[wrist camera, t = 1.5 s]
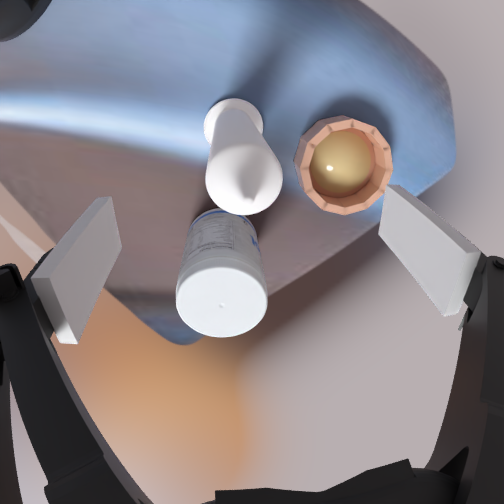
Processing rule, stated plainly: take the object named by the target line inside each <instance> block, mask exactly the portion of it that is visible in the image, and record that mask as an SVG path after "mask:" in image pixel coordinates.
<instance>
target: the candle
mask: <svg viewBox="0 0 504 504" xmlns="http://www.w3.org/2000/svg"><path fill="white" fill-rule="evenodd" d="M262 133H263V121H262V117H261V115H260V113H259V111H258V110H257V109H256V108H255V107H254V106H253V105H252V104H251V103H249V102H247V101H245V100H242V99H237V98H231V99H226V100H223V101H220V102H218V103H217V104H215V105H214V106H213V107H212V108H211V109H210V110H209V112H208V113H207V115H206V118H205V121H204V134H205V137H206V139H207V141H208V143H209V144H210V145H211V147H210V153H209V159H208V164H207V170H206V187H207V191H208V193H209V195H210V197H211V198H212V200H213V201H214V202H215V203H216V204H217V205H218V206H219V207H220V208H221V209H223V210H225V211H227V212H229V213H232V214H236V215H251V214H255V213H258V212H260V211H262V210H264V209H266V208H267V207H269V206H270V205H271V204H272V203H273V202H274V201H275V199H276V198H277V196H278V195H279V193H280V190H281V187H282V182H283V173H282V168H281V165H280V163H279V161H278V159H277V158H276V156H275V154H274V153H273V151H272V150H271V148H270V147H269V145H268V144H267V142H266V141H265V139H264V138H263V136H262Z"/></svg>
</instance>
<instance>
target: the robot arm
mask: <svg viewBox="0 0 504 504" xmlns="http://www.w3.org/2000/svg"><path fill="white" fill-rule="evenodd" d="M50 1H51V0H0V42H4V41H8V40H11V39H13V38H15V37H17V36H19V35H21V34H22V33H24V32H25V31H26V30H27V29H29V28H30V27H31V26H32V25H33V24H34V23H35V22H36V21H37V20H38V19H39V17H40V16H41V15H42V14H43V12H44V11H45V9H46V8H47V6H48V5H49V3H50ZM379 236H380V237H381V238H382V239H383V240H384V242H385V243H386V244H387V245H388V246H389V247H390V249H391V250H392V251H393V252H394V253H395V255H396V256H397V257H398V258H399V259H400V261H401V262H402V263H403V265H404V266H405V267H406V268H407V269H408V271H409V272H410V273H411V275H412V276H413V277H414V278H415V280H417V282H418V284H419V285H420V286H421V287H422V289H423V290H424V291H425V293H426V294H427V295H428V297H429V298H430V299H431V301H432V302H433V303H434V305H435V306H436V307H437V309H438V310H439V311H440V313H441V314H442V316H443V317H445V316H449V315H454V314H458V312H459V310H460V307H461V305H462V303H463V301H464V302H465V303H466V304H467V306H468V308H467V311H466V313H465V315H464V317H463V320H462V322H461V324H460V326H459V328H458V330H461V328H462V327H463V331H462V338H461V344H460V350H459V356H458V361H457V366H456V371H455V375H454V380H453V385H452V389H451V393H450V397H449V401H448V405H447V409H446V412H445V416H444V420H443V423H442V426H441V430H440V433H439V436H438V439H437V442H436V445H435V448H434V451H433V454H432V456H431V458H430V460H429V462H428V463H427V465H426V466H425V468H412V467H411V465H410V462H409V459H405V460H402V461H398V462H395V463H392V464H388V465H385V466H382V467H378V468H375V469H370V470H367V471H365V472H363V473H361V474H359V475H357V476H355V477H353V478H351V479H349V480H347V481H345V482H343V483H340V484H338V485H336V486H334V487H332V488H330V489H327V490H325V491H322V492H305V491H291V490H281V489H271V488H259V489H243V490H221V491H220V490H219V491H218V490H217V491H215V500H213V501H209V502H205V503H202V504H504V259H503V258H501V257H497V256H489V257H486V256H485V255H484V254H483V253H482V252H481V251H480V250H479V249H478V248H476V246H474V245H473V244H472V243H471V242H470V241H469V240H468V239H466V238H465V237H464V236H463V235H462V234H461V233H459V232H458V231H457V230H456V229H455V228H453V227H452V226H451V225H450V224H449V223H447V222H446V221H445V220H444V219H442V218H441V217H440V216H439V215H438V214H436V213H435V212H434V211H433V210H431V209H430V208H429V207H428V206H426V205H425V204H424V203H422V202H421V201H420V200H419V199H417V198H416V197H415V196H413V195H412V194H411V193H409V192H408V191H407V190H405V189H404V188H403V187H401V186H400V185H386V189H385V196H384V203H383V209H382V216H381V222H380V228H379ZM121 249H122V245H121V241H120V237H119V232H118V227H117V223H116V218H115V213H114V208H113V202H112V197H111V196H109V197H100V198H96V199H95V201H94V202H93V203H92V204H91V205H90V206H89V207H88V208H87V209H86V211H85V212H84V213H83V214H82V215H81V216H80V217H79V218H78V220H77V221H76V222H75V223H74V224H73V225H72V227H71V228H70V229H69V230H68V231H67V232H66V234H65V235H64V236H63V237H62V238H61V240H60V241H59V242H58V243H57V245H56V246H55V247H54V248H52V249H51V250H49V251H48V252H47V253H45V254H44V255H43V256H42V257H41V259H40V260H39V261H38V263H37V264H36V265H35V266H34V268H33V269H32V270H31V271H30V273H29V274H28V275H27V277H26V278H25V279H24V281H23V280H22V277H21V275H20V272H19V270H18V267H17V266H16V265H15V264H12V263H10V264H5V265H2V266H0V504H23V502H22V498H21V493H20V488H19V483H18V477H17V471H16V464H15V457H14V448H13V440H12V429H11V414H10V382H11V385H12V388H13V392H14V395H15V399H16V402H17V404H18V408H19V411H20V414H21V417H22V420H23V422H24V425H25V428H26V430H27V433H28V436H29V438H30V441H31V443H32V446H33V448H34V451H35V453H36V455H37V458H38V460H39V462H40V465H41V467H42V469H43V471H44V473H45V475H46V478H47V480H48V485H47V486H45V487H44V491H45V495H46V498H47V500H48V503H49V504H153V503H152V501H151V500H150V499H149V498H148V497H147V496H146V495H145V494H144V492H143V491H142V490H141V489H140V487H139V486H138V485H137V484H136V483H135V481H134V480H133V478H132V477H131V476H130V474H129V473H128V472H127V471H126V469H125V468H124V466H123V465H122V464H121V462H120V461H119V459H118V458H117V457H116V455H115V454H114V452H113V451H112V449H111V448H110V446H109V445H108V443H107V442H106V440H105V439H104V437H103V436H102V434H101V433H100V431H99V430H98V428H97V426H96V425H95V423H94V421H93V420H92V418H91V416H90V415H89V413H88V411H87V409H86V408H85V406H84V404H83V403H82V401H81V399H80V397H79V395H78V394H77V392H76V390H75V388H74V386H73V384H72V382H71V380H70V378H69V376H68V375H67V373H66V371H65V369H64V367H63V364H62V362H61V360H60V358H59V356H58V354H57V352H56V350H55V348H54V345H53V343H52V342H51V340H50V337H51V336H52V333H53V332H55V334H56V336H57V338H58V339H59V341H60V343H70V344H78V343H79V340H80V338H81V335H82V333H83V330H84V328H85V326H86V323H87V321H88V319H89V316H90V314H91V312H92V310H93V307H94V305H95V303H96V301H97V298H98V296H99V294H100V292H101V290H102V288H103V286H104V283H105V281H106V279H107V277H108V275H109V273H110V271H111V269H112V267H113V265H114V263H115V261H116V259H117V257H118V255H119V253H120V251H121Z"/></svg>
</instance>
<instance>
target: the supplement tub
mask: <svg viewBox="0 0 504 504" xmlns="http://www.w3.org/2000/svg"><path fill="white" fill-rule="evenodd" d="M176 306H177V310H178V313H179V315H180V316H181V318H182V319H183V321H184V322H185V323H186V324H187V325H188V326H189V327H191V328H192V329H194V330H196V331H197V332H199V333H202V334H205V335H208V336H213V337H230V336H236V335H239V334H242V333H244V332H246V331H248V330H250V329H252V328H253V327H254V326H255V325H257V324H258V322H260V320H261V319H262V318H263V316H264V314H265V311H266V308H267V286H266V280H265V275H264V270H263V265H262V260H261V255H260V250H259V245H258V239H257V235H256V231H255V229H254V227H253V225H252V223H251V222H250V221H249V220H248V219H247V218H246V217H245V216H244V215H236V214H232V213H229V212H227V211H225V210H223V209H221V208H217V209H212V210H209V211H206V212H204V213H203V214H201V215H200V216H198V217H197V218H196V219H195V220H194V222H193V223H192V224H191V226H190V228H189V231H188V235H187V239H186V244H185V248H184V252H183V257H182V262H181V267H180V272H179V277H178V282H177V287H176Z"/></svg>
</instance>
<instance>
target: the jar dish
mask: <svg viewBox="0 0 504 504" xmlns="http://www.w3.org/2000/svg"><path fill="white" fill-rule="evenodd" d="M360 130H361V131H360ZM293 161H294V165H295V169H296V173H297V177H298V181H299V184H300V186H301V187H302V189H303V190H304V192H305V193H306V194H307V195H308V196H309V197H310V198H311V199H312V200H313V201H314V202H315V203H316V204H317V205H318V206H319V207H320V208H321V209H322V210H325V211H330V212H334V213H338V214H342V215H347V214H350V213H354V212H357V211H361V210H364V209H367V208H368V207H369V206H371V205H372V204H373V203H374V202H375V201H376V200H377V199H378V198H379V197H380V196H381V195H382V194H384V193H385V189H386V185H388V182H389V180H390V177H391V174H392V172H393V166H392V157H391V149H390V146H389V144H388V143H387V142H386V140H385V139H384V138H383V136H382V135H381V134H380V132H379V131H378V130H377V128H376V127H374V126H371V125H369V124H366V123H363V122H361V121H358V120H355V119H352V118H350V117H347V116H344V115H340V116H335V117H331V118H326V119H322V120H318V121H317V122H316V123H315V124H314V125H313V126H312V127H311V128H310V129H309V130H308V131H307V132H306V133H305V134H303V135H302V136H301V137H300V141H299V144H298V148H297V151H296V154H295V158H294V160H293ZM319 192H320V193H319Z"/></svg>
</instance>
